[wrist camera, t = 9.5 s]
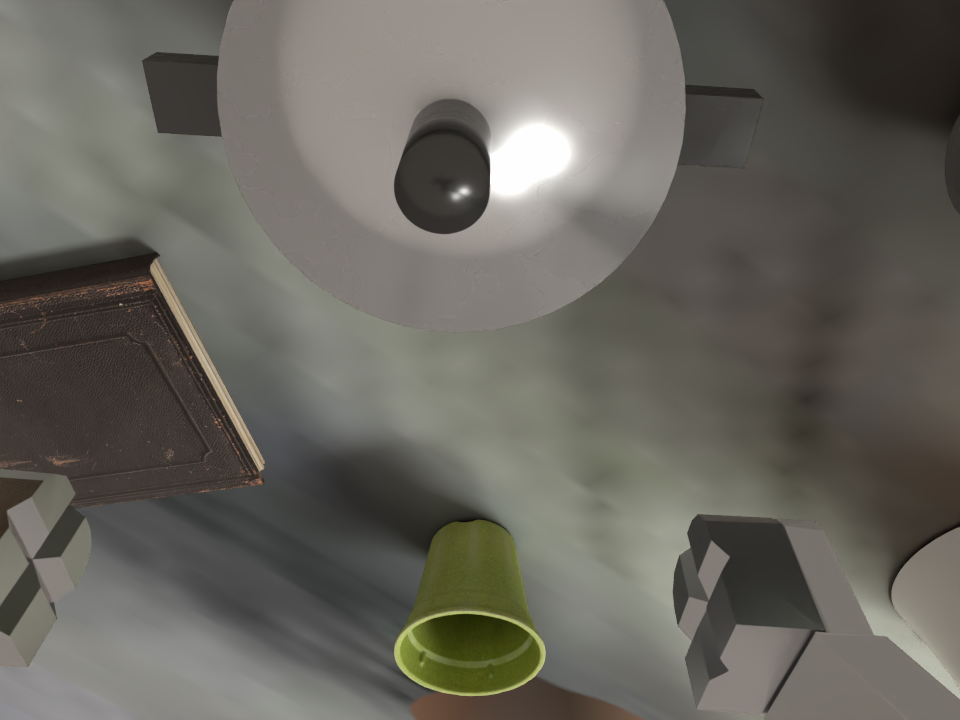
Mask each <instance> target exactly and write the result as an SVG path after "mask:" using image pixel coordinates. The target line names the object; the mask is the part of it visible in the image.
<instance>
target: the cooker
mask: <svg viewBox="0 0 960 720" xmlns="http://www.w3.org/2000/svg"><path fill="white" fill-rule="evenodd" d="M218 61H219V56H209V55H193V54H177V53H161V52H156V53H154V54H153V55H151V56H149V57H147V58H146V59H144V60H142V62H143V67H144V71H145V76H146V80H147V85H148V89H149V94H150V99H151V103H152V108H153V112H154V117H155V121H156V126H157V130H158V133H171V134H188V135H204V136H221V137H222V133H221V127H220V121H219V114H218V104H217V71H218ZM763 101H764V99H763V98H762V97H761V96H760V95H759V94H758V93H757V92H756V91H755V90H754V89H742V88H726V87H710V86H693V85H685V102H686V114H685V124H684V133H683V143H682V147H681V151H680V155H679V159H678V164H682V165H698V166H715V167H731V168H744V167H745V164H746V160H747V157H748V153H749V150H750V146H751V143H752V139H753V136H754V132H755V129H756V125H757V122H758V118H759V115H760V111H761V108H762V104H763Z"/></svg>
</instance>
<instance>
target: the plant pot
mask: <svg viewBox="0 0 960 720" xmlns="http://www.w3.org/2000/svg"><path fill="white" fill-rule="evenodd" d="M394 656H395V660H396V662H397V664H398V666H399V668H400V669H401V670H402V671H403V672H404V673H405V674H406V675H407V676H408V677H409V678H410V679H412V680H413V681H415V682H417V683H418V684H420V685H422V686H425V687H427V688H430V689H433V690H436V691H439V692H443V693H448V694H456V695H463V696H479V695H490V694H496V693H500V692H504V691H508V690H511V689H514V688H517V687H519V686H521V685H523V684H525V683H526V682H527V681H529V680H531V679H532V678H533V677H534V676H536V674H537V673H538V672H539V671H540V669H541V668H542V666H543V664H544V662H545V646H544V642H543V640H542V638H541V636H540V635H539V633H538V632H537V631H536V628H535V625H534V623H533V621H532V619H531V617H530V615H529V611H528V606H527V601H526V596H525V592H524V587H523V582H522V577H521V572H520V567H519V561H518V556H517V551H516V546H515V543H514V540H513V538H512V537H511V535H510V534H509V533H508V532H507V531H506V530H505V529H504V528H502V527H501V526H499V525H497V524H495V523H492V522H489V521H485V520H475V521H472V522H457V521H456V522H452V523H450V524H448V525H446V526H444V527H443V528H441V529H440V530H439V531H438V532H437V533H436V534H435V536H434V537H433V539H432V542H431V545H430V549H429V553H428V557H427V561H426V564H425V568H424V572H423V575H422V579H421V583H420V587H419V590H418V594H417V597H416V601H415V605H414V608H413V611H412V613H411V614H410V616H409V617H408V620H407V622H406V626H405V627H404V628H403V629H402V630H401V631H400V633H399V634H398V636H397V639H396V642H395V646H394Z"/></svg>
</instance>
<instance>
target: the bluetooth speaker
mask: <svg viewBox="0 0 960 720" xmlns="http://www.w3.org/2000/svg"><path fill="white" fill-rule="evenodd" d="M945 178H946V185H947V189H948V193H949V197H950V199H951V201H952V203H953V205H954V207H955V209H956V210H957V212H958V213H959V214H960V115H959V116H958V118H957V120H956V122H955V124H954V126H953V129H952V131H951V134H950V138H949V141H948V145H947V150H946V159H945Z"/></svg>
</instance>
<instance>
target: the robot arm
mask: <svg viewBox="0 0 960 720" xmlns="http://www.w3.org/2000/svg"><path fill="white" fill-rule="evenodd" d="M74 496H75V492H74V490H73V488H72V486H71V483H70V481H69V479H68V477H67V476H63V475H58V474H50V473H39V472H28V471H17V470H6V469H0V666H11V667H28V666H29V665H30V663H31V661H32V660H33V658H34V656H35V655H36V653H37V651H38V650H39V648H40V646H41V645H42V643H43V641H44V639H45V638H46V636H47V634H48V633H49V631H50V629H51V628H52V626H53V624H54V623H55V621H56V619H57V617H56V611H55V606H54V602H56V601H57V600H58V599H60V598H61V597H63V596H64V595H66V594H67V593H69V592H70V591H72V590H73V589H74V588H75V587H76V585H77V584H78V582H79V580H80V578H81V577H82V575H83V573H84V571H85V569H86V567H87V563H88V559H89V555H90V551H91V547H92V545H91V530H90V528H89V525H88V523H87V520H86V518H85V517H84V516H83V515H82V514H80V513H79V512H78V511H76V510H75V509H74V508H72V507H71V506H70V505H69V504H70V502H71V500H72V499H73V497H74ZM687 534H688V538H689V542H690V546H691V548H690V549H688V550H687V551H685V552H684V553H682V554H681V555H679V558H678V562H677V565H676V568H675V572H674V584H673V598H674V609H675V614H676V619H677V624H678V627H679V628H680V629H681V630H682V631H683V632H684V633H685V634H686V636H687V637H688V638H689V639H690V640H691V641H692V643H691V645H690V648H689V650H688V653H687V655H686V658H685V661H686V665H687V669H688V674H689V678H690V683H691V687H692V691H693V696H694V700H695V705H696V709H700V710H711V711H722V712H733V713H744V714H755V715H766V716H765V718H764V720H960V699H959V698H957V697H956V696H955V695H954V694H953V693H952V692H950V691H949V690H948V689H947V688H946V687H945V686H943V685H942V684H941V683H940V682H939V681H938V680H936V679H935V678H934V677H933V676H932V675H931V674H929V673H928V672H927V671H926V670H925V669H924V668H922V667H921V666H920V665H919V664H918V663H917V662H915V661H914V660H913V659H912V658H911V657H910V656H908V655H907V654H906V653H905V652H904V651H903V650H901V649H900V648H899V647H898V646H897V645H896V644H895V643H893V642H892V641H891V640H890V639H889V638H888V637H885V636H875V635H874V634H873V632H872V630H871V628H870V626H869V624H868V622H867V620H866V617H865V615H864V613H863V611H862V609H861V607H860V605H859V603H858V601H857V599H856V596H855V594H854V592H853V590H852V588H851V586H850V584H849V582H848V580H847V578H846V575H845V573H844V571H843V569H842V567H841V565H840V563H839V561H838V559H837V557H836V554H835V552H834V550H833V548H832V546H831V544H830V542H829V540H828V538H827V536H826V533H825V531H824V529H823V528H822V527H821V526H820V525H819V524H818V523H817V522H816V521H805V520H789V519H772V518H761V517H742V516H723V515H704V514H698V515H697V516H696V517H695V518H694V519H693V520H692V522H691V524H690V527H689V530H688V532H687ZM891 598H892V603H893V606H894V608H895V610H896V611H897V613H898V614H899V615H900V616H901V617H902V618H903V619H904V620H905V621H906V622H907V623H908V624H909V626H910V627H911V628H912V629H913V630H914V631H915V632H916V633H917V634H918V636H919V637H920V638H921V639H922V640H923V642H924V643H925V644H926V645H927V646H928V648H929V649H930V650H931V651H932V653H933V654H934V655H935V657H936V658H937V659H938V661H939V662H940V663H941V664H942V666H943V667H944V668H945V670H946V671H947V673H948V674H949V675H950V677H951V678H952V680H953V681H954V682H955V684H956V685H957V687H958V688H959V689H960V527H958V528H956V529H954V530H952V531H950V532H948V533H946V534H944V535H942V536H940V537H939V538H937V539H935V540H934V541H932V542H931V543H929V544H928V545H926V546H925V547H923V548H922V549H921V550H920V551H918V552H917V553H916V554H915V555H914V556H913V557H912V558H911V559H910V560H909V561H908V562H907V563H906V564H905V565H904V566H903V568H902V569H901V570H900V572H899V573H898V575H897V577H896V579H895V581H894V584H893V587H892V593H891Z"/></svg>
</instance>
